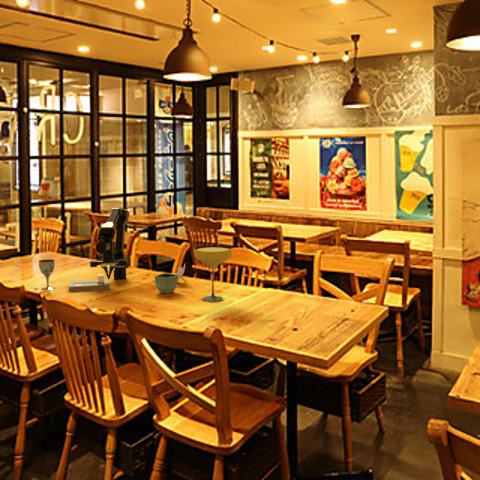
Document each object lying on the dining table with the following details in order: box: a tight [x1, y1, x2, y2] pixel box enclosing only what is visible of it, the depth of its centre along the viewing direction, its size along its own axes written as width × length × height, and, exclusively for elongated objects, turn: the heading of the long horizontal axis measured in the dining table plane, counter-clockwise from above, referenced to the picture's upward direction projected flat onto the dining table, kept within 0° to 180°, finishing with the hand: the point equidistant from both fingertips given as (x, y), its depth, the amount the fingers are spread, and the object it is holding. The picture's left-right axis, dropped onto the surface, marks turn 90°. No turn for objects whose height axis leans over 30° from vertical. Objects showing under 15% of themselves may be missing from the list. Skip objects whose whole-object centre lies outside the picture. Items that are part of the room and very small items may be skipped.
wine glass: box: [38, 258, 56, 291], centre depth 292 cm, size 8×8×15 cm
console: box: [68, 278, 110, 293], centre depth 296 cm, size 20×14×3 cm
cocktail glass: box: [193, 245, 232, 303], centre depth 271 cm, size 18×18×25 cm
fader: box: [97, 273, 105, 283], centre depth 297 cm, size 3×5×5 cm, turn 15°
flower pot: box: [154, 272, 179, 295], centre depth 286 cm, size 9×9×9 cm
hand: (108, 278), depth 298 cm, fingers closed
